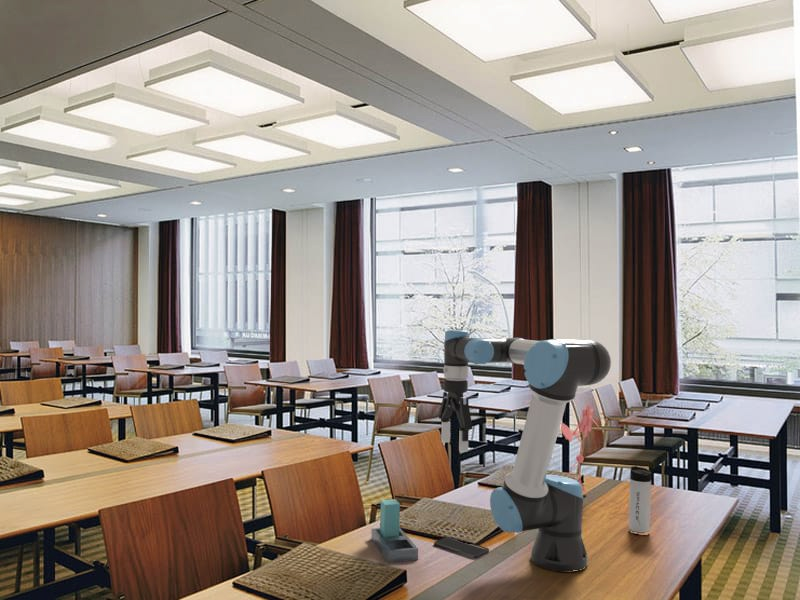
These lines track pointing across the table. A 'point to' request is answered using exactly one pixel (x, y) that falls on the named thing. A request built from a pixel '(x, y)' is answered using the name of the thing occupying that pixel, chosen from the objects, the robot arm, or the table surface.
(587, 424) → the pink flower branch
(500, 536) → the table surface
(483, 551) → the phone
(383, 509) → the square peg
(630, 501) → the travel mug
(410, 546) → the grey hollow block
